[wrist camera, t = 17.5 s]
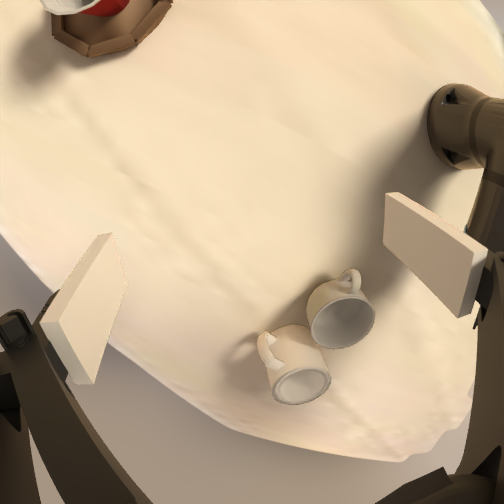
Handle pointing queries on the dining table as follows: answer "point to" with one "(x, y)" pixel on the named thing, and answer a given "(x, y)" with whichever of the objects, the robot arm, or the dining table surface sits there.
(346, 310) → the teacup
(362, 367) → the dining table surface
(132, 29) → the octagonal wooden tray
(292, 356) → the mug
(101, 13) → the plastic cup
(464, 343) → the dining table surface
